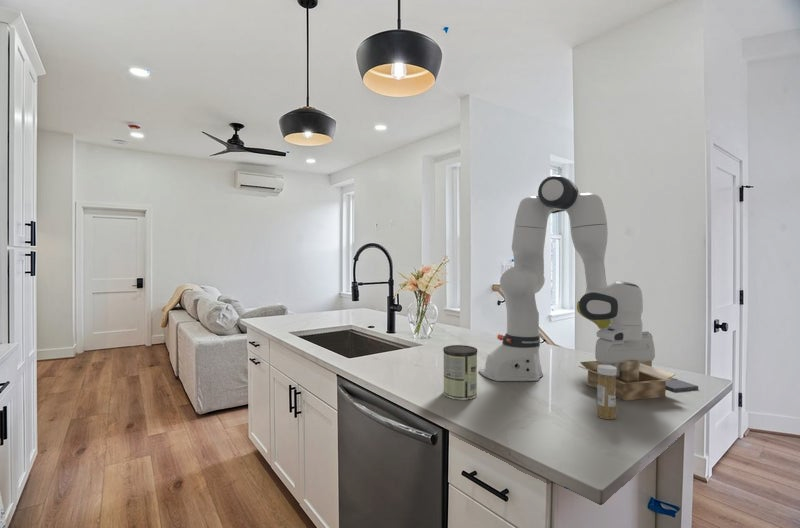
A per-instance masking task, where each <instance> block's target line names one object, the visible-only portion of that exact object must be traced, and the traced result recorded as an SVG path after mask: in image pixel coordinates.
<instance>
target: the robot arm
mask: <svg viewBox="0 0 800 528" xmlns="http://www.w3.org/2000/svg"><path fill="white" fill-rule="evenodd" d="M561 212H566V213H567V214H568V218H569V224H570V225H569V226H570V235H571V240H572V244H573V247H574V250H575V251H576V252H577V253H578V256H579V257H580V258H581V260H582V263H583V267H584V273H585V285H586V290H585V293H584V295H582V297H580V299H579V309H580V312H581V313H582V315H583V316H585V317H586V318H588V319H591V320H604V319H610V320H611V324H610V325H609V326H607V327H605V328H603V329H601V330H600V329H599V330H597V331H596V337H597V338H598V339H597V340H596V342H595V348H594V349H595V351H594V352H595V353H594V355H595V356H594V357H595V361H598V362H600V363H603V364H611V366H614V367H616V368H617V375H616V377H621V376H622V375H621V374H622V371H619V369H618V366H619V363H624V361H629V360H638V361H639V366H640V361H652V362H653V361H654V359H655V358H656V350H655V343H654V340H653V339H654V338H653V335H652V333H650V331H646V330H645V331H643V322H642V321H643V320H642V314H643V312H644V311H643V309H644V307H643V305H644V304H643V303H644V301H643V293H642V289H641V288H640V287H639V286H638V285H637V284H635V283H632V282H627V281H622V280H616V281H613V282H612V283H611V284H607V277H606V267H605V256H606V251H607V244H608V234H609V233H608V219H607V214H606V211H605V206H604V203H603V199H602V197H600V195H598V194H595V193H592V192H585V193H581V192H579V189H578V187H577V185H575V183H574V182H573V181H572V180H570V179H569V178H566V177H565V176H562V175H557V174H556V175H550V176H548V177H546V178H544V179H543V180H542V181H541V182H540V184H539V187H538V190H537V195H535V196H534V195H532V196H531V195H530V196H526V197H524V198H523V199H521V200H520V202H519V204H518V208H517V212H516V214H515V215H516V216H515V218H514V226H513V234H512V240H511V241H512V242H511V251H512V254H513V255H512V256H513V266H512V267H509V268H508V269H506V270H505V271H504V272H503V273H502V274H501V276H500V280H499V284H500V289H501V290H502V292H503V297H504V302H505V309H506V333H505V334H504V335H502V334H501V333H498V334H497V340H499V341H502V343H501V344H500V345H498V346H497V347H496V348H495V349H494V350H492V352H490V353H489V354H487V356H486V360H485V366H483V367H479V369H478V370H479V371H478V372H479V374H481V375H482V376H484V377H485V378H487V379H489V380H493V381H496V382H528V381H530V382H534V381H535V382H536V381H540V378H541V377H543V376H544V374H543V373H544V372H543V370H542V366H541V360H540V359H541V358H540V345H541V340H540V339H541V338H540V337H541V336H540V333H539V332H540V330H539V329H540V328H539V327H540V326H539V324H540V323H539V322H540V317H539V316H540V313H539V311H538V307H537V302H536V294H537V293H538V292H540V291H541V290H542V289H543V286H544V284H545V281H546V280H545V279H546V278H545V260H544V257H545V256H544V255H545V254H544V251H545V243H546V234H547V227H548V220H549V218H550V217H549V216H550V215H551V214H556V213H561ZM582 315H581V316H582ZM583 316H582V317H583ZM585 317H584V318H585ZM586 318H585V319H586ZM588 319H587V320H588Z"/></svg>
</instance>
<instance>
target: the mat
mask: <svg viewBox="0 0 800 528" xmlns="http://www.w3.org/2000/svg"><path fill="white" fill-rule="evenodd" d="M669 379H677V380H670V381H666V390H668V391H671V392H673V391H676V392H681V391H682V392H683V391H684V390H686V391H692V390H693V389H695V390H699V385H697V384H694V383H690V382H687V381H684V380H681V379H679V378H674V377H671V378H669ZM684 392H685V391H684Z"/></svg>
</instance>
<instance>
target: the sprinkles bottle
mask: <svg viewBox="0 0 800 528" xmlns="http://www.w3.org/2000/svg"><path fill="white" fill-rule="evenodd" d="M597 372H598V384H597V388H596V389H597V390H596V391H597V393H596V394H597V395H596V396H597V397H596V398H597V399H596V400H597V410H596V411H597V412H596V416H598V417H599V418H601V419H604V420H615V419H616V418H617V416H616V406H617V401H616V400H617V397H616V375H617V368H616V367H614V366H611V365H598V366H597Z"/></svg>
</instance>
